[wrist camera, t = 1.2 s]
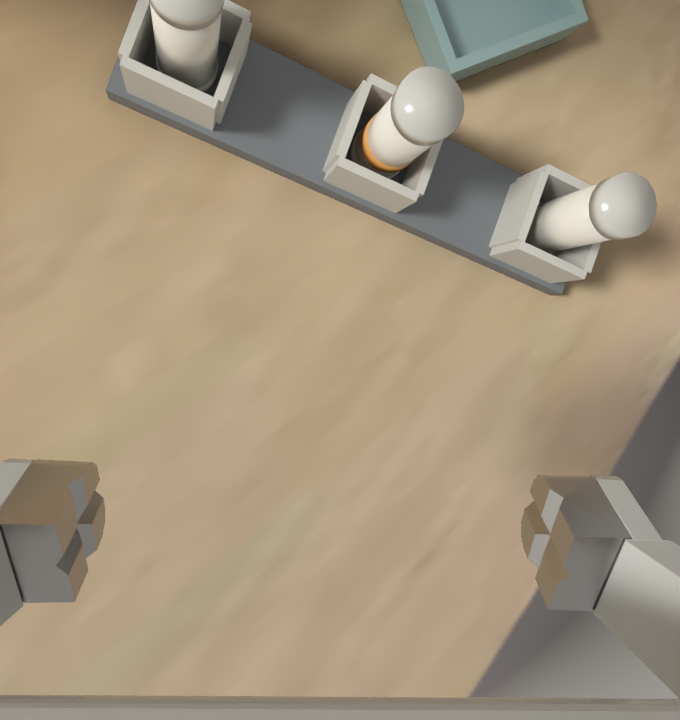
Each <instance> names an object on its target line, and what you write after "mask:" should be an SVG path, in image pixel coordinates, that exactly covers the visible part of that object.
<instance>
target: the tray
mask: <svg viewBox="0 0 680 720" xmlns="http://www.w3.org/2000/svg"><path fill="white" fill-rule="evenodd" d="M400 1H401V3H402V6H403V9H404V11H405V14H406V16H407V19H408V21H409V24H410V27H411V29H412V32H413V34H414V37H415V39H416V42H417V45H418V47H419V50H420V52H421V55H422V57H423V60H424V63H425V65H426V67H436V68H439V69H441V70H444V71H445V72H447V73H448V74H449V75H451V76H452V77H453V78H454V80H455V81H458V80H461V79H463V78H466V77H469V76H471V75H474V74H476V73H479V72H481V71H484V70H486V69H489V68H491V67H494V66H497V65H499V64H502V63H504V62H507V61H509V60H512V59H514V58H517V57H519V56H522V55H524V54H527V53H530V52H532V51H535V50H537V49H540V48H542V47H545V46H547V45H550V44H552V43H555V42H557V41H560V40H563V39H565V38H566V37H568V36H569V35H570V34H572V33H573V32H574V31H575V30H577V29H578V28H579V27H581V26H582V25H583V24H585V23H586V22H587V21H588V20H589V19H588V17H587V14H586V11H585V8H584V5H583V2H582V0H400Z"/></svg>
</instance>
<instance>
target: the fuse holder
mask: <svg viewBox="0 0 680 720" xmlns="http://www.w3.org/2000/svg"><path fill="white" fill-rule="evenodd" d="M250 16H251V11H249V10H247V9H245V8H243V7H241V6H239V5H237V4H235V3H233V2H231V1H229V0H225V1H224V6H223V9H222V12H221V22H220V33H219V44H218V55H217V56H218V73H217V79H216V82H215V84H214V85H213V87H212V88H211V89H210V90H209V91H208V92H207V93H204V92H202V91H199V90H197V89H195V88H193V87H191V86H189V85H187V84H184V83H182V82H180V81H178V80H176V79H174V78H172V77H169V76H167V75H165V74H163V73H161V72H159V71H157V65H156V58H155V52H156V45H155V38H154V30H153V23H152V15H151V8H150V2H149V0H138V1H137V3H136V6H135V9H134V11H133V14H132V17H131V19H130V22H129V24H128V27H127V30H126V32H125V35H124V37H123V40H122V43H121V45H120V48H119V51H118V55H119V56H118V59H117V61H116V64H115V67H114V69H113V72H112V74H111V77H110V80H109V82H108V85H107V88H106V92H107V95H108V97H109V99H110V100H113V101H115V102H117V103H119V104H122V105H124V106H126V107H128V108H131V109H133V110H135V111H137V112H140V113H142V114H144V115H146V116H149V117H151V118H153V119H155V120H158V121H160V122H162V123H164V124H167V125H169V126H171V127H173V128H176V129H178V130H180V131H182V132H185V133H187V134H189V135H191V136H194V137H196V138H198V139H200V140H203V141H205V142H207V143H209V144H212V145H214V146H216V147H218V148H221V149H223V150H225V151H227V152H230V153H232V154H234V155H236V156H239V157H241V158H243V159H245V160H248V161H250V162H252V163H254V164H257V165H259V166H261V167H263V168H266V169H268V170H270V171H272V172H275V173H277V174H279V175H281V176H284V177H286V178H288V179H290V180H293V181H295V182H297V183H299V184H302V185H304V186H306V187H308V188H311V189H313V190H315V191H317V192H320V193H322V194H324V195H326V196H329V197H331V198H333V199H335V200H338V201H340V202H342V203H344V204H347V205H349V206H351V207H353V208H356V209H358V210H360V211H362V212H365V213H367V214H369V215H371V216H374V217H376V218H378V219H380V220H383V221H385V222H387V223H389V224H392V225H394V226H396V227H398V228H401V229H403V230H405V231H407V232H410V233H412V234H414V235H416V236H419V237H421V238H423V239H425V240H427V241H430V242H432V243H434V244H436V245H439V246H441V247H443V248H445V249H448V250H450V251H452V252H454V253H457V254H459V255H461V256H463V257H466V258H468V259H470V260H472V261H475V262H477V263H479V264H481V265H484V266H486V267H488V268H490V269H493V270H495V271H497V272H499V273H502V274H504V275H506V276H508V277H511V278H513V279H515V280H517V281H520V282H522V283H524V284H526V285H529V286H531V287H533V288H535V289H538V290H540V291H542V292H544V293H547V294H549V295H557V294H562V292H563V289H564V286H565V284H566V282H567V281H575V280H583V279H585V277H586V274H587V273H591V271H592V268H593V265H594V263H595V260H596V257H597V254H598V251H599V248H600V245H601V242H599V243H594V244H589V245H584V246H579V247H575V248H570V249H565V250H560V251H556V252H553V253H551V254H549V253H547V252H545V251H543V250H541V249H538V248H536V247H534V246H532V245H530V244H528V243H526V242H525V240H526V238H527V235H528V232H529V229H530V226H531V223H532V221H533V218H534V215H535V212H536V209H537V206H538V203H545V202H547V201H550V200H553V199H556V198H559V197H562V196H564V195H567V194H570V193H573V192H576V191H578V190H581V189H584V188H587V187H590V185H589V184H587V183H585V182H583V181H581V180H579V179H577V178H575V177H573V176H571V175H569V174H567V173H565V172H563V171H561V170H559V169H557V168H555V167H553V166H551V165H550V164H547V165H545V166H542V167H540V168H538V169H536V170H534V171H532V172H529V173H527V174H525V175H521V174H519V173H517V172H515V171H513V170H511V169H509V168H507V167H505V166H503V165H501V164H499V163H497V162H495V161H493V160H491V159H489V158H487V157H485V156H483V155H481V154H479V153H477V152H475V151H473V150H471V149H469V148H467V147H465V146H463V145H461V144H459V143H457V142H455V141H453V140H451V139H449V138H447V137H446V138H445V139H443V140H442V141H440V142H439V143H437V144H434V145H432V146H431V147H430V148H428V149H427V150H426V151H424V152H423V153H422V154H421V155H419V156H418V157H417V158H415V160H414V161H413V162H412V163H410V164H409V165H408V166H406V167H405V168H404V169H402V170H401V171H400V172H399V173H398V174H397V175H395V176H394V177H393V178H391V179H388V178H386V177H384V176H382V175H380V174H378V173H375V172H373V171H371V170H369V169H367V168H365V167H363V166H360V165H358V164H356V163H354V162H352V161H350V160H349V148H350V145H351V142H352V140H353V139H354V138H355V136H356V135H357V134H358V133H359V132H360V130H361V129H363V128H364V127H365V126H366V124H367V123H368V122H369V121H370V120H371V118H372V117H373V116H374V115H375V114H376V113H378V112H379V111H380V110H381V108H382V107H383V106H384V105H385V104H386V103H387V101H388V100H389V99H390V98H391V97H392V96H393V94H394V92H395V90H396V88H397V86H395V85H393V84H391V83H389V82H388V81H386V80H384V79H382V78H380V77H378V76H376V75H374V74H372V73H371V74H370V75H369V77H368V78H367V79H366V81H365V80H363V81H362V83H361V84H360V85H359V87H358V88H357V90H356V91H353V90H351V89H349V88H347V87H345V86H343V85H341V84H339V83H337V82H335V81H333V80H331V79H329V78H327V77H325V76H323V75H321V74H319V73H317V72H315V71H313V70H311V69H309V68H307V67H305V66H303V65H301V64H299V63H297V62H295V61H293V60H291V59H289V58H287V57H285V56H283V55H281V54H279V53H277V52H275V51H273V50H271V49H269V48H267V47H265V46H263V45H261V44H259V43H256V42H254V41H252V40H250V34H251V29H252V24H253V23H251V22H249V21H250Z"/></svg>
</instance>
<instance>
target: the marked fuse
mask: <svg viewBox="0 0 680 720" xmlns="http://www.w3.org/2000/svg"><path fill="white" fill-rule="evenodd" d="M463 112H464V99H463V95H462V92H461V89H460V87H459V85H458V84H457V82H456V81H455V80H454V78H453V77H452V76H451V75H449V74H448V73H447V72H445V71H444V70H441V69H439V68H436V67H421V68H418V69H416V70H414V71H412V72H411V73H409V74H408V75H407V76H406V78H405V79H404V80H403V81H402V82H401V83H400V85H399V86H398V87H397V88H396V90H395V92H394V94H393V96H392V97H391V98H390V99H389V100H388V101H387V103H386V104H385V105H384V106H383V107H382V108H381V110H380V111H379V112H378V113H376V114H375V115H374V116H373V117H372V118H371V120H370V121H369V122H368V123H367V124H366V126H365V127H364V128H363V129H361V130H360V132H359V133H358V134H357V135H356V136H355V138H354V139H353V140H352V142H351V145H350V148H349V160H350V161H352V162H354V163H356V164H358V165H360V166H363V167H365V168H367V169H369V170H371V171H373V172H375V173H378V174H380V175H382V176H384V177H386V178H388V179H391V178H393V177H394V176H395V175H397V174H398V173H399V172H400V171H401V170H402V169H404V168H405V167H406V166H408V165H409V164H410V163H412V162H413V161H414V160H415V158H417V157H418V156H419V155H421V154H422V153H423V152H424V151H426V150H427V149H428V148H430V147H431V146H432V145H434V144H437V143H439V142H440V141H442V140H443V139H445V138H446V137H447V136H449V135H450V134H451V133H453V132H454V131H455V130H456V128H457V127H458V126H459V124H460V122H461V120H462V117H463Z"/></svg>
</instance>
